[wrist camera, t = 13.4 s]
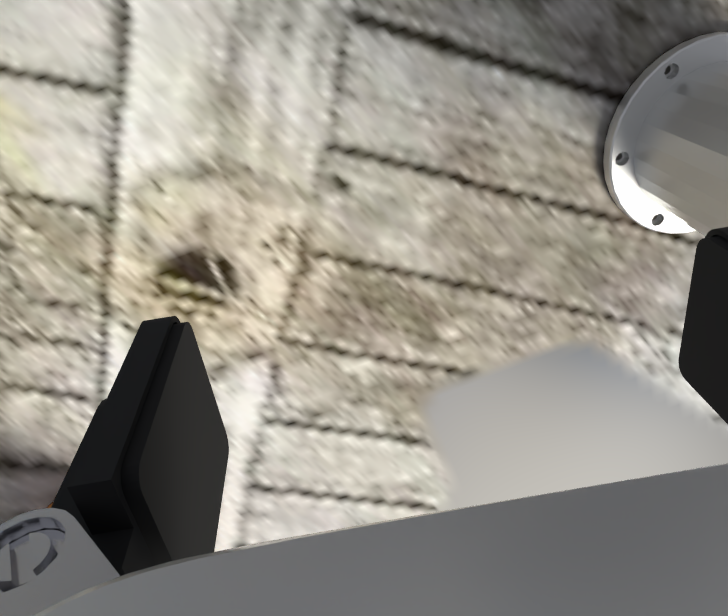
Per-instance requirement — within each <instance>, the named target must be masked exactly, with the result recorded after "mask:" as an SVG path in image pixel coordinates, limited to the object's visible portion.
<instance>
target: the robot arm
mask: <svg viewBox="0 0 728 616" xmlns="http://www.w3.org/2000/svg"><path fill="white" fill-rule="evenodd" d="M665 69H666V71H665ZM617 155H618V157H617ZM616 157H617V158H616ZM603 165H604V174H605V181H606V184H607V187H608V190H609V193H610V195H611V197H612V198H613V200H614V201H615V203H616V205H617V206H618V208H620V209H621V210H622V211H623V212H624V213H625V214H626V215H627V216H628V217H629V218H631V219H632V220H634V221H635V222H637V223H638V224H639V225H641V226H643V227H645V228H648V229H650V230H653V231H657V232H663V233H668V234H676V233H689V232H694V231H698V232H699V233H701V234H703V235H704V236H705V238H703V239H701V240H700V241H699V243H698V245H697V248H696V254H695V260H694V267H693V273H692V279H691V285H690V292H689V298H688V304H687V310H686V317H685V323H684V329H683V335H682V342H681V348H680V354H679V368H680V371H681V374H682V376H683V377H684V379H685V380H686V381H687V382H688V383H689V384H690V385H691V386H692V387H693V388H694V389H695V390H696V391H697V392H698V393H699V395H700V396H701V397H702V398H703V399H704V400H705V401H706V402H707V403H708V404H709V405H710V406H711V407H712V408H713V409H714V410H715V411H716V412H717V413H718V414H719V416H720V417H721V418H722V419H723V420H724V421H725V422H726V423H727V424H728V32H715V33H710V34H705V35H700V36H698V37H695V38H693V39H690V40H688V41H685V42H683V43H681V44H679V45H677V46H676V47H674V48H673V49H671V50H669V51H668V52H666V53H664V54H663V55H661V56H660V57H659V58H658V59H657V60H656V61H654V62H653V63H652V64H651V65H650V66H649V67H647V68H646V69H645V70H644V71H643V73H642V74H641V75H640V76H639V77H638V78H637V79H636V81H635V82H634V83H633V84H632V85H631V86H630V88H629V89H628V91H627V93H626V94H625V96H624V97H623V99H622V100H621V102H620V103H619V105H618V107H617V110H616V112H615V114H614V116H613V119H612V121H611V123H610V126H609V130H608V133H607V137H606V141H605V147H604V159H603ZM228 454H229V446H228V438H227V434H226V431H225V428H224V425H223V422H222V419H221V415H220V412H219V409H218V406H217V403H216V400H215V397H214V394H213V391H212V388H211V385H210V382H209V379H208V375H207V372H206V369H205V366H204V363H203V360H202V357H201V354H200V351H199V348H198V345H197V342H196V339H195V335H194V332H193V329H192V327H191V325H190V323H189V322H184V323H180V321H179V319H178V318H177V317H176V316H172V317H165V318H159V319H153V320H147V321H143V322H142V323H141V325H140V327H139V329H138V332H137V334H136V336H135V338H134V340H133V343H132V345H131V347H130V349H129V351H128V354H127V356H126V358H125V360H124V362H123V365H122V367H121V369H120V371H119V373H118V376H117V378H116V380H115V382H114V384H113V387H112V389H111V391H110V393H109V395H108V398H107V399H105V400H103V401H102V402H101V403H100V405H99V406H98V408H97V410H96V412H95V414H94V416H93V419H92V421H91V423H90V425H89V427H88V429H87V431H86V433H85V436H84V438H83V440H82V442H81V444H80V446H79V448H78V451H77V453H76V455H75V457H74V459H73V461H72V463H71V466H70V468H69V470H68V472H67V474H66V476H65V478H64V481H63V483H62V485H61V487H60V489H59V491H58V493H57V496H56V498H55V500H54V502H53V504H52V506H51V508H44V509H35V510H32V511H29V512H26V513H23V514H20V515H18V516H16V517H14V518H12V519H10V520H8V521H6V522H4V523H2V524H0V616H728V463H726V464H720V465H714V466H708V467H702V468H696V469H690V470H684V471H678V472H673V473H666V474H660V475H655V476H649V477H643V478H637V479H631V480H625V481H619V482H613V483H607V484H601V485H595V486H589V487H584V488H577V489H572V490H565V491H559V492H553V493H547V494H542V495H536V496H530V497H524V498H518V499H512V500H506V501H500V502H494V503H488V504H482V505H476V506H470V507H464V508H458V509H452V510H446V511H440V512H434V513H429V514H423V515H417V516H411V517H405V518H400V519H394V520H388V521H382V522H377V523H371V524H365V525H359V526H354V527H348V528H342V529H336V530H331V531H325V532H319V533H313V534H308V535H302V536H296V537H290V538H285V539H279V540H273V541H267V542H262V543H257V544H252V545H247V546H242V547H237V548H232V549H227V550H223V551H218V552H214V548H215V542H216V535H217V528H218V522H219V515H220V508H221V501H222V495H223V488H224V481H225V475H226V468H227V461H228Z"/></svg>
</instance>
